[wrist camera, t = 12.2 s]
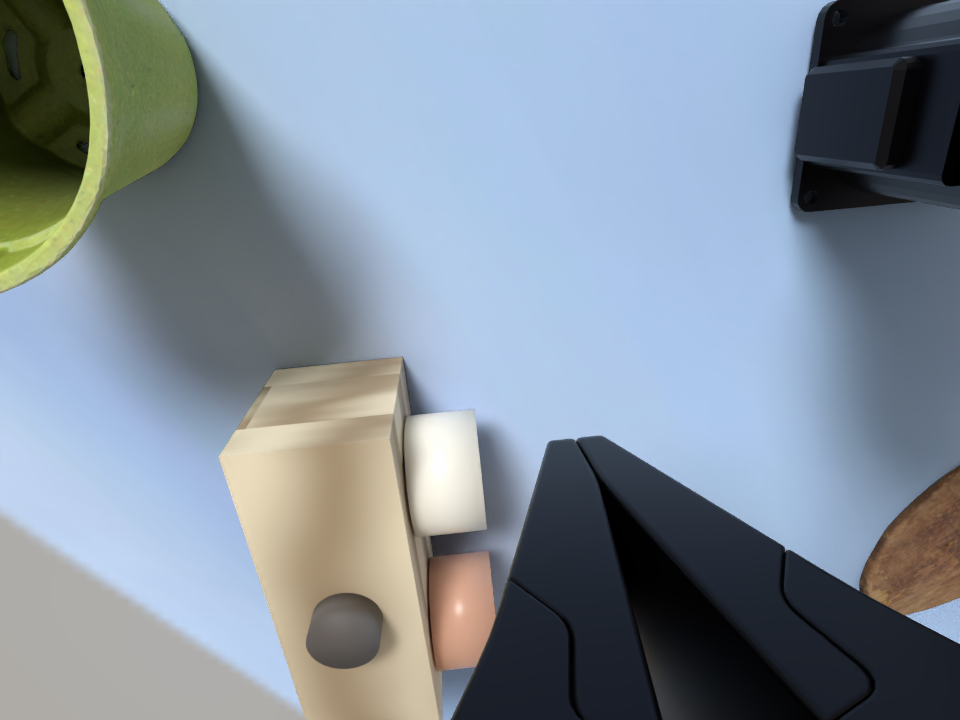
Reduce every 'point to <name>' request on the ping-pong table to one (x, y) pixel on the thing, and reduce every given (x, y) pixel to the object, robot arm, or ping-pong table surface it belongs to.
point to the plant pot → (83, 117)
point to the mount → (338, 539)
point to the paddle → (919, 552)
